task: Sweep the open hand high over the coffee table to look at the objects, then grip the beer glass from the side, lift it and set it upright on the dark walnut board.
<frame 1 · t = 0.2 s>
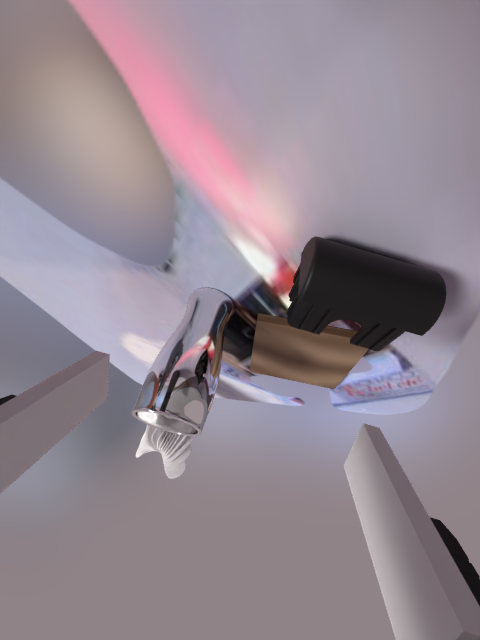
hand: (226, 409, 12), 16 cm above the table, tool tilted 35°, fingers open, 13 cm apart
end cap: (351, 265, 23), on the table
walnut board: (301, 352, 35), on the table
beer glass: (212, 303, 31), on the table
white ridged vase: (190, 370, 49), on the table
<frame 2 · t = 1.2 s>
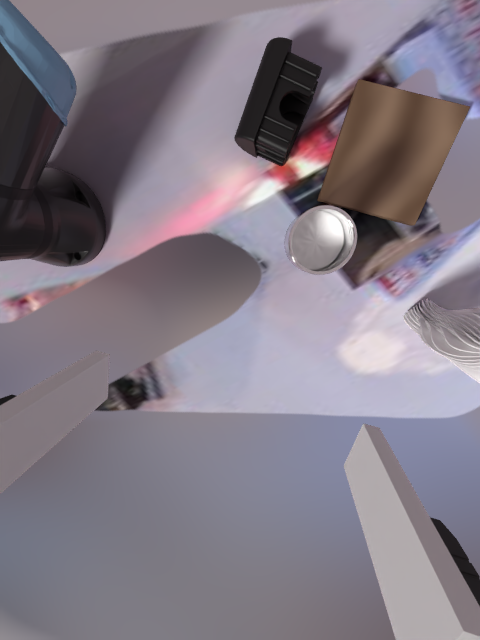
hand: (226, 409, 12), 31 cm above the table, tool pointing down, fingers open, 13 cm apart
end cap: (274, 123, 34), on the table
walnut board: (384, 159, 34), on the table
beer glass: (303, 241, 38), on the table
white ridged vase: (422, 315, 39), on the table
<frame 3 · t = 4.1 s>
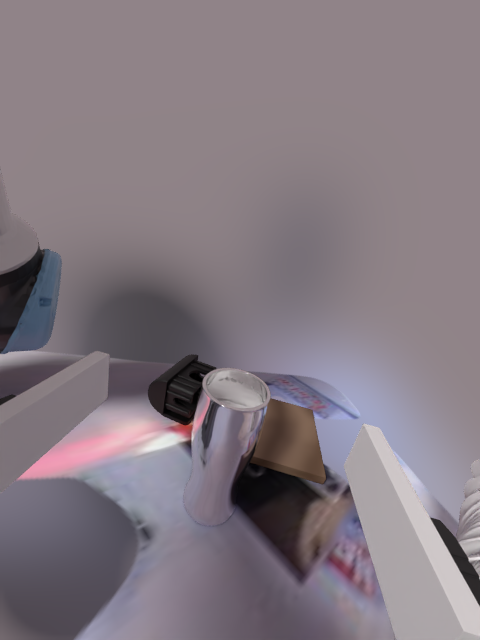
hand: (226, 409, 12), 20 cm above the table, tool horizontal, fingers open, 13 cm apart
end cap: (181, 402, 42), on the table
walnut board: (272, 431, 39), on the table
beer glass: (209, 497, 28), on the table
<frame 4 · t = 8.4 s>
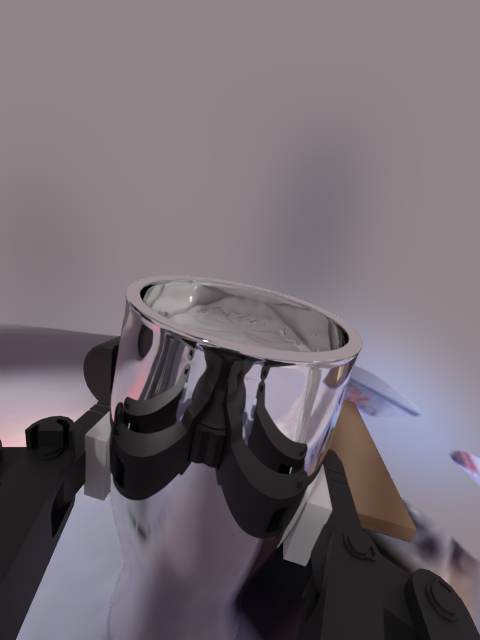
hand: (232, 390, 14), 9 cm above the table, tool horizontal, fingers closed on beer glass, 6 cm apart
end cap: (149, 390, 26), on the table
walnut board: (298, 436, 24), on the table
beer glass: (179, 596, 12), on the table, touching gripper
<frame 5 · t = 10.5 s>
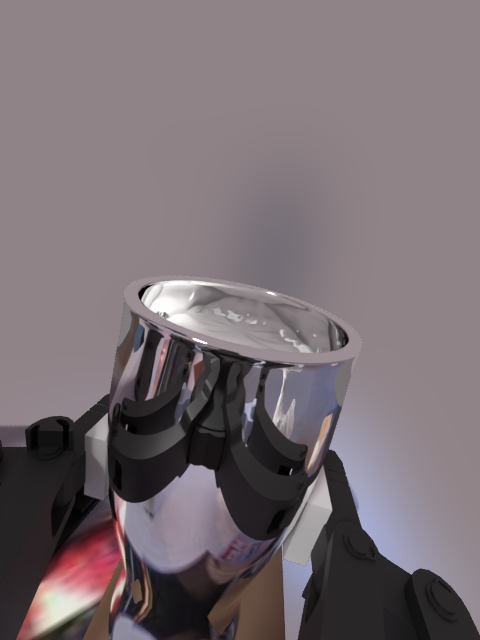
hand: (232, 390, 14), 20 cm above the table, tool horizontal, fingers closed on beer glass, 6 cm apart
end cap: (37, 523, 23), on the table
walnut board: (200, 584, 21), on the table
beer glass: (178, 597, 12), point 11 cm above the table, touching gripper
when the fingers open (11 cm above the table, at t = 12.9 s): beer glass drops 1 cm, resting on walnut board.
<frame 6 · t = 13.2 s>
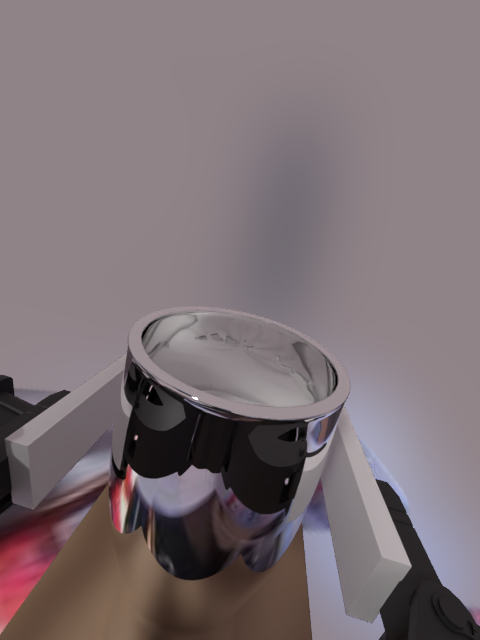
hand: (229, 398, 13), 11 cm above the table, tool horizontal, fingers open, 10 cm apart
walnut board: (173, 620, 13), on the table
beer glass: (175, 610, 12), point 1 cm above the table, touching walnut board
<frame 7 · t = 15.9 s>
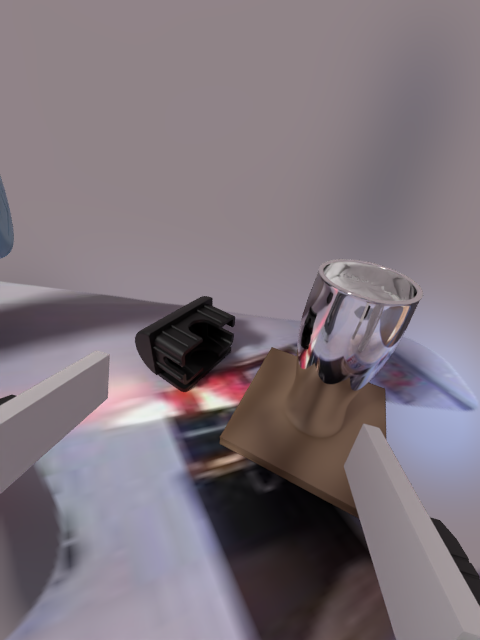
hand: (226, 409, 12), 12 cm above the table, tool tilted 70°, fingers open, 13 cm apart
end cap: (190, 358, 32), on the table
walnut board: (309, 416, 26), on the table
beer glass: (311, 411, 25), point 1 cm above the table, touching walnut board
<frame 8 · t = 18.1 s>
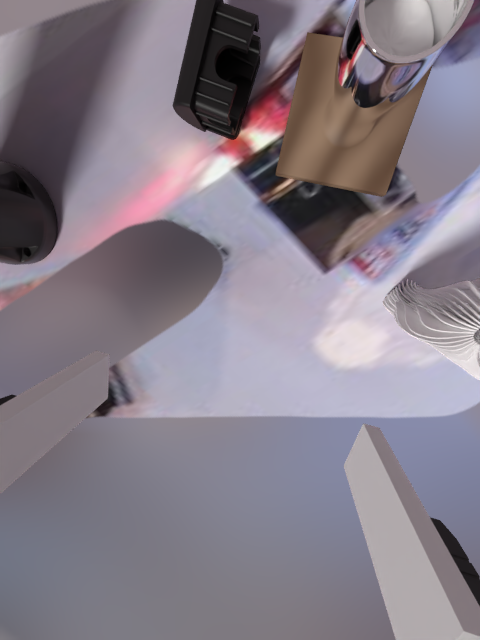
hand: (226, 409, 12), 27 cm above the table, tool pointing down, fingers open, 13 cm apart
end cap: (222, 92, 31), on the table
walnut board: (346, 123, 30), on the table
beer glass: (347, 119, 29), point 1 cm above the table, touching walnut board
white ridged vase: (405, 299, 35), on the table
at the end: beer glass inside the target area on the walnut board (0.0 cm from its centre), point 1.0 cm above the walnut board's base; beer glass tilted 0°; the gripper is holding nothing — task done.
